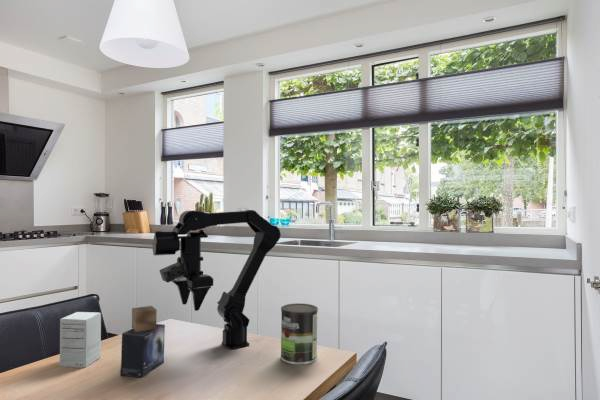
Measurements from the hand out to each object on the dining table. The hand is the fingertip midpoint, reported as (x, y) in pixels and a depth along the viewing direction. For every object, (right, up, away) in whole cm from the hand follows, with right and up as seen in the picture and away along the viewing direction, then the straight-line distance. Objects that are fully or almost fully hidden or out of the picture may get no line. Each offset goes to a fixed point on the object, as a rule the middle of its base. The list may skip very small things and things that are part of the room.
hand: (190, 307), depth 118 cm
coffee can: (+32, -13, -4) cm, 35 cm away
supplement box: (-27, -13, -8) cm, 31 cm away
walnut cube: (-9, -2, -12) cm, 15 cm away
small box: (-9, -13, -13) cm, 20 cm away
